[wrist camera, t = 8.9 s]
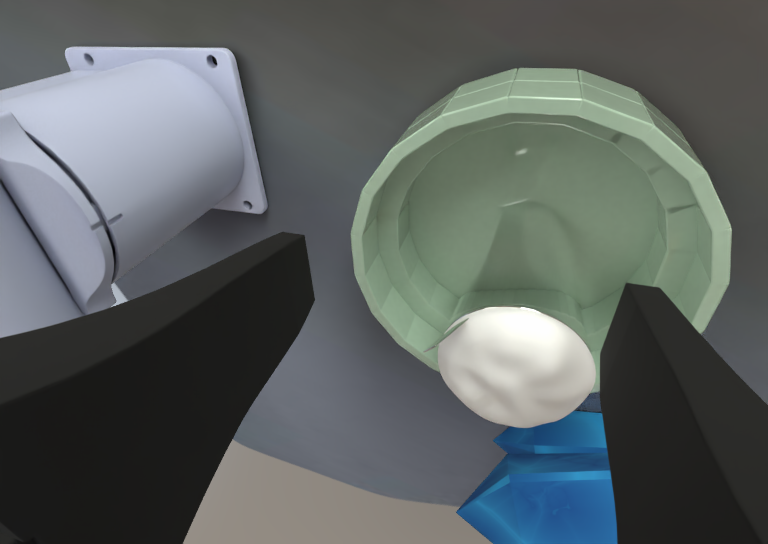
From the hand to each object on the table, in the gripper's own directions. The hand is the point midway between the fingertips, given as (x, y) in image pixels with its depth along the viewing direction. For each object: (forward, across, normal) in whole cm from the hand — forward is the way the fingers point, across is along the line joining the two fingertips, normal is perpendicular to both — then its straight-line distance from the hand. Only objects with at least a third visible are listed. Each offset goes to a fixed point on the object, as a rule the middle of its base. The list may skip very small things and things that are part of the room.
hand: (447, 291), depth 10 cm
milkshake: (+10, -2, +4) cm, 11 cm away
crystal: (+11, -6, +16) cm, 21 cm away
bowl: (+10, -2, +4) cm, 11 cm away
